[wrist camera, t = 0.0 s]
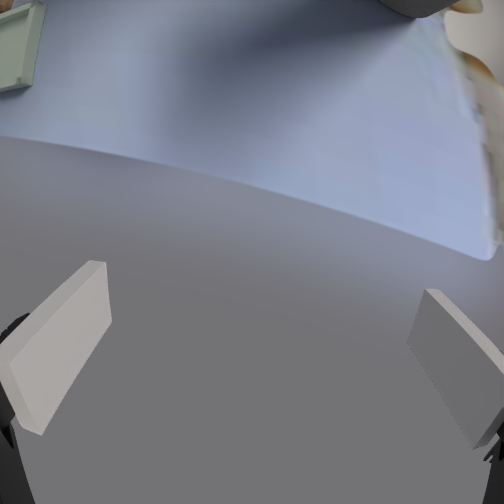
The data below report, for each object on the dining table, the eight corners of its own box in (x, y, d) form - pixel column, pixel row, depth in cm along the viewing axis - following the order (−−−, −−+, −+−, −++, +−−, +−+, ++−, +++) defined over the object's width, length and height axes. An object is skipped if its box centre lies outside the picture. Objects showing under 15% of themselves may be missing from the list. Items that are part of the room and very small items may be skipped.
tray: (-6, 24, 28) (-17, 21, 25) (47, 5, 29) (36, 0, 26) (-19, 97, 32) (-31, 97, 30) (32, 85, 33) (20, 83, 30)
